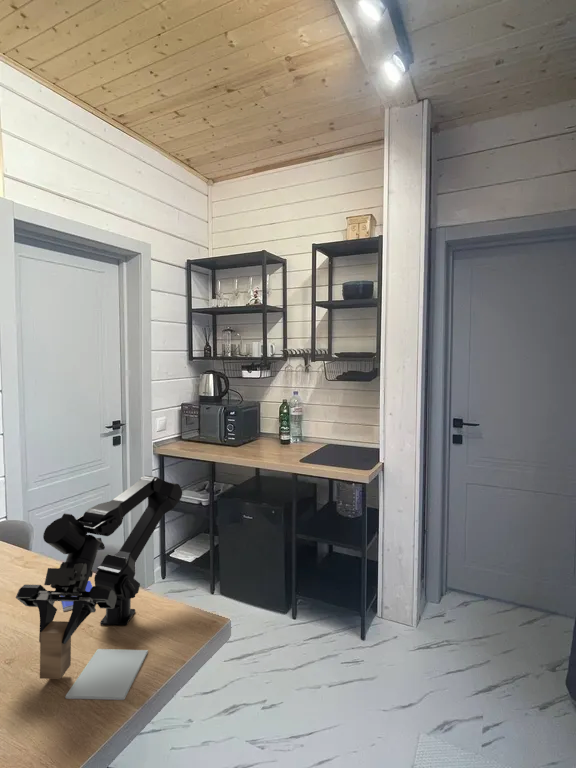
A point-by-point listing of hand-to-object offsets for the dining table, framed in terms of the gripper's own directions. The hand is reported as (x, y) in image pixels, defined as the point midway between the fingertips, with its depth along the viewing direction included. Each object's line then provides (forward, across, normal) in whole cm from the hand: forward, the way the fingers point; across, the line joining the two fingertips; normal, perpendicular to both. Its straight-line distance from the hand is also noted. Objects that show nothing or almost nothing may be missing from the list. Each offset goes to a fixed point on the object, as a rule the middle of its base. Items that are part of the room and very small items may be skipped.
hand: (52, 643), depth 86 cm
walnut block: (+4, 0, +6) cm, 7 cm away
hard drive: (-17, -11, +30) cm, 36 cm away
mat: (+3, +10, +8) cm, 13 cm away
